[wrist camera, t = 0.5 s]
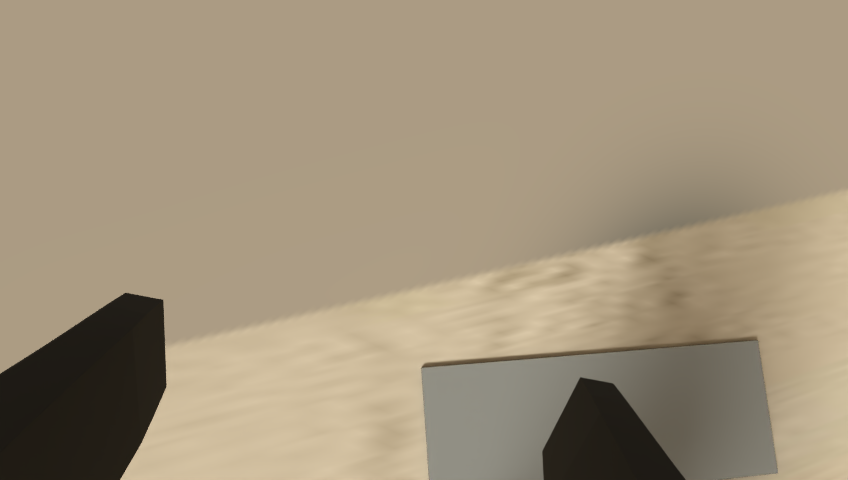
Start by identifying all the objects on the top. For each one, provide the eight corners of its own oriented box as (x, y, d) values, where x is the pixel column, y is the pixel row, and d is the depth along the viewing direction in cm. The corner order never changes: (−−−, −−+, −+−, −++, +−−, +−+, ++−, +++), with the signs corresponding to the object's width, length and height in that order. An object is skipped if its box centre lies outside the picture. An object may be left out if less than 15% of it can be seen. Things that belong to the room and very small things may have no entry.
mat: (774, 472, 39) (778, 473, 38) (431, 510, 36) (431, 511, 36) (754, 340, 40) (757, 340, 40) (421, 367, 37) (421, 368, 37)
